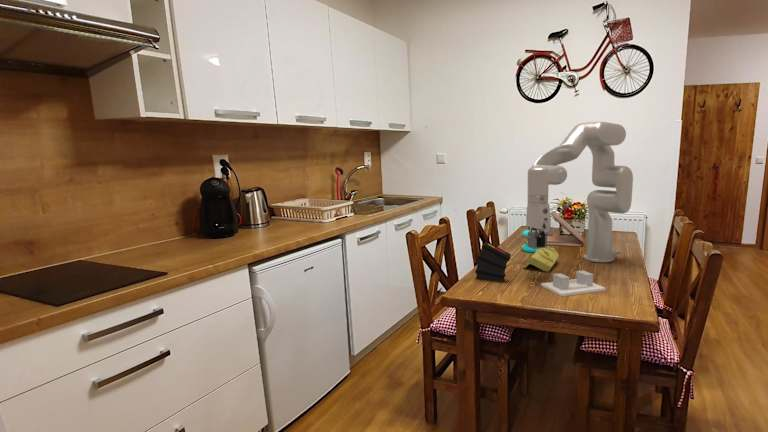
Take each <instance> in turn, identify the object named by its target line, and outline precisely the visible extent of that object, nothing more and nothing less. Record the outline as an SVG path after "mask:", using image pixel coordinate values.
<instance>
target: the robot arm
mask: <svg viewBox="0 0 768 432" xmlns="http://www.w3.org/2000/svg"><path fill="white" fill-rule="evenodd" d="M626 137H627V133H626V128H625V127H624V126H623V124H620V123H613V122H607V121H592V122H591V121H590V122H582V123H578V124H576V125H575V126H574V127H573V128H572V130H570V132H569V133H568V134H567V136H566V137H565V138H564V139H563V140H562V141H561V143H560V144H559V145H558V146H555V147H554V148H551V149H550V150H549V151H547V152H545V153H543V154H542V155H540V156H539V157H538V158H537V159H536V161H534V163H533V164H532V166H531V167H530V168H529V169H528V170H527V204H526V213H525V214H526V217H525V218H526V219H525V221H526V222H525V223H526V225H525V226H527V230H529V232H532V230H536V231H537V230H538V237H537V247H544V246H545V237H546V234H547V233H550V230H551V226H552V215H551V207H550V203H549V185H553V186H555V185H556V186H558V185H561V184H563V183H564V182H565V181H566V180H567V177H568V172H567V170H566V168H565V167H563V166H561V165H562V164H565V163H569V162H572V161H575V160H576V159H578V158H579V156H580V155H581V154H583V153H582V152H584V149H586V147H588V149H589V150H590V153H591V154H592V167H591V169H592V170H591V182H592V184H593V185H594V186H595V187H599V188H609V189H611V188H613V189H615V190H609V189H597V190H596V189H595V190H592V191H591V192H589V193H588V195H587V197H586V206H587V212H588V227H587V228H588V229H587V245H586V246H587V248H586V250H587V251H586V253H585V254H583V256H582V257H583V259H584V260H585V261H589V262H593V263H603V264H604V263H613V262H614V261H615V257H614V256H615V255H619V254H620V253H621V252H620V250H619V249H615V250H614V249H612V238H613V237H612V235H613V219H612V217H611V215H610V213H612V214H626V213H628V212H629V211H630V209H631V206H632V197H633V185H634V175H633V171H632V169H631V168H630V167H628V166H626V165H615V152H614V149H613V148H612V146H619V145H621V144H622V143H623V142H624V141H625V139H626ZM541 231H542V232H541Z"/></svg>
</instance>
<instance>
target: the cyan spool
mask: <svg viewBox="0 0 768 432" xmlns="http://www.w3.org/2000/svg"><path fill="white" fill-rule="evenodd" d="M537 231H538V230H537ZM528 232H529V229H527V230H524V231H523V232H522V235H528ZM522 250H523V251H524V252H525V253H532V254H534V253H535V252H536V251H537V250H538V249H532V248H529V247H528V242H527V243H524V244H523V245H522Z"/></svg>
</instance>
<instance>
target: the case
mask: <svg viewBox="0 0 768 432" xmlns="http://www.w3.org/2000/svg"><path fill="white" fill-rule="evenodd" d="M550 215H551V217H552V218H553V220H554V221H555V222H557V223H558V224H559V225H560V226H561V227H562V228H564V230H566V231H567V232H568V233H569V234H570V235H559V234H558V235H557V234H553V236H548V237H547V246H559V247H560V246H561V247H564V246H565V247H582V246H583V243H584V242H585V241H584V239H583V236H582V234H581V233H580V232H579V231H578V230H577V229H575V228H574V227H573V226H572V225H571V224H569V223H568V222H567V221H566V220H565V219H564V218H562V217H561V216H560V215H559V214H558V213H557V212H556V211H553V210H552V211H551V212H550Z"/></svg>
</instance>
